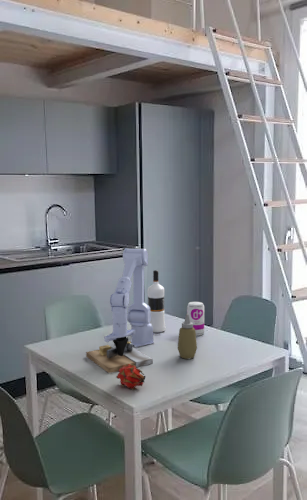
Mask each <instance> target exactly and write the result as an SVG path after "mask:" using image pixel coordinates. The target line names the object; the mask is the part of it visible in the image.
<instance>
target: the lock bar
mask: <svg viewBox="0 0 307 500" xmlns="http://www.w3.org/2000/svg"><path fill="white" fill-rule="evenodd" d="M114 347H115V346H114ZM111 348H112V347H111ZM133 348H134V345H133V343H132V342H131V340H128V342H127V344H126V346H125V349H124V352H127V351H132V350H133ZM116 355H118V352H117V349H116V347H115V348H112V349H109V350H107V358H111V357H114V356H116Z"/></svg>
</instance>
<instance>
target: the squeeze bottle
mask: <svg viewBox="0 0 307 500" xmlns="http://www.w3.org/2000/svg"><path fill="white" fill-rule="evenodd" d="M178 331H179V332H178V342H177V351H178V354H179V356H180V358H182V359H186V360H188V359H189V360H191V359H193V358H195V356H196V352H197V349H198V343H197V336H196V332H195V329H194V328H193V323H192V322H190V318H189V314H187V313H186V314H185V318H184V321H182V323H181V327H180V328H179V330H178Z"/></svg>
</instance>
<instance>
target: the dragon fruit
mask: <svg viewBox="0 0 307 500" xmlns="http://www.w3.org/2000/svg"><path fill="white" fill-rule="evenodd" d="M115 378H116V379H117V380H118V379H119V380H120V381H119V383H120V384H121V387H122V388H124V387H125V386H126V387H127V388H128V389H130V390H135V391H136V390H138V388H137V387H143V385H144V383H145V379H146V375H145V374H144V373H143V371H142V370H141V369H139V368H138V367H136V366H135V365H131V364H126V365H123V366H122V367H121V368H120V369H119V371H118V373H117V375H116V377H115Z"/></svg>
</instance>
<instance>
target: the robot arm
mask: <svg viewBox="0 0 307 500" xmlns="http://www.w3.org/2000/svg"><path fill="white" fill-rule="evenodd" d="M122 260H123V264H124V267H123V271H122V276H121V277H120V278H118V281H117V283H116V286H115V289H114V292H113V293H111V295H110V297H109V306H110V311H111V313H112V333H109V334H108V335H106V336H104V339H103V340H104V342H105V343H109V342H112V343H113V344H114V347H115V346H116V349H117V352H118V355H119V356H123V353H124V349H125V346H126V344H127V342H128V341H129V338H128V337H129V336H130V337H131V340H130V341H131V342H132V343H133V347H142V346H146V345H152V344H155V342H154V333H153V327H152V324H151V323H150V321H151V312H150V307H149V306H148V303H145V268H146V267H148V263H149V252H148V250H147V249H146V248H128V247H125V248H124V250H123V252H122ZM132 277H133V278H132ZM131 279H133V282H132V280H131ZM131 287H132V288H133V289H132V291H133V293H132V295H133V298H132V299H133V301H132V302H133V303H131V304H130V305H129V303H130V291H131ZM128 323H129V325H130V326H131V328H130V329H128Z"/></svg>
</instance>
